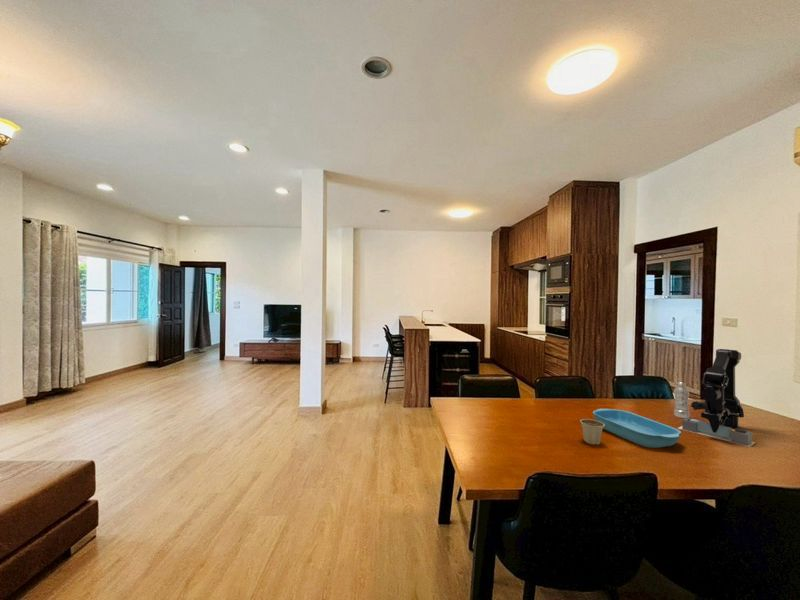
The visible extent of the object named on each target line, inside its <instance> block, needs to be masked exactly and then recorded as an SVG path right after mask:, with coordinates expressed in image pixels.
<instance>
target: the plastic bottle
mask: <svg viewBox="0 0 800 600" xmlns="http://www.w3.org/2000/svg"><path fill="white" fill-rule="evenodd" d="M686 386H687V382H686V381H682V380H680V381H679V380H678V381H677V382H676V387H675V388H674V389H673V394H674V400H675V404H674V410H673V415H674V417H676V418H679V419H682V420H684V419H686V418H691V416H690V415H691V414H690V410H689V409H690V408H689V398H690V391H689V389H688V388H687V387H686Z"/></svg>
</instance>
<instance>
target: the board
mask: <svg viewBox="0 0 800 600" xmlns="http://www.w3.org/2000/svg"><path fill="white" fill-rule="evenodd" d="M677 430H683V429H682V425H681V426H678V427H677ZM683 431H684V430H683ZM685 431H687V430H685ZM687 432H688V431H687ZM689 432H691V431H689ZM691 433H692V432H691ZM693 433H694V434H700V435H702V436H707V437H710V438H714V439H718V440H722V441H727V442H730V443H734V444H738V445H741V446H745V447H749V448H751V447H752V446H753V445H754V444H755V443H756V442H755V441H752V442H751V443H750V444H749V445H744V444H740V443H736V442H732V441H731V437H730V438H727V437H723V436H719V435H715V434H711V433H707V432H703V431H699V430H697V433H695V432H693Z"/></svg>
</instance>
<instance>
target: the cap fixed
mask: <svg viewBox="0 0 800 600" xmlns="http://www.w3.org/2000/svg"><path fill="white" fill-rule="evenodd" d="M691 419H693V418H691V417H689V418H686V419H682V423H681V424H682V425H681V426H682V429H683V431H686V430H687V432H690V431H691V433H694V432H695V433H694V434H698V433H697V423H695V422H691V421H690V420H691ZM694 419H695V420H697V419H696V418H694ZM698 420H699V421H702V420H700V419H698ZM682 429H681V430H682Z"/></svg>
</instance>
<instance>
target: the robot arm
mask: <svg viewBox="0 0 800 600" xmlns="http://www.w3.org/2000/svg"><path fill="white" fill-rule="evenodd" d="M741 359H742V353H741V352H740V351H738V350H737V349H725V348H724V349H723V348H718V349H716V350H715V359H714V361H713V363H712V366H711V367H708V368H707V369H706V371H705V372H704V373H703V378H702V382H701V386H705V388H703V389H702V390H701V391H700V396H701V398H702V399H703V400H704V401H698V400H696V401H693V400H692V402H691V403H690V407H691V408H692V409H693V411H697V410H704V411H702V412H701V413H700V418H701V419H706V420H707V421H708V423H710V425H711V428H712V431H713V432H715V433H716V432H717V430H718V428H719V426H720V425H721V426H726V427H730V428H731V429H732V430H735V428H738V429H741V428H742V426H741V425H739V418H745V413H744V408H743V405H741V402H740V400H739V398H738V397H737V396H736V367H737V365H739V363H741V362H740V361H741Z"/></svg>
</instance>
